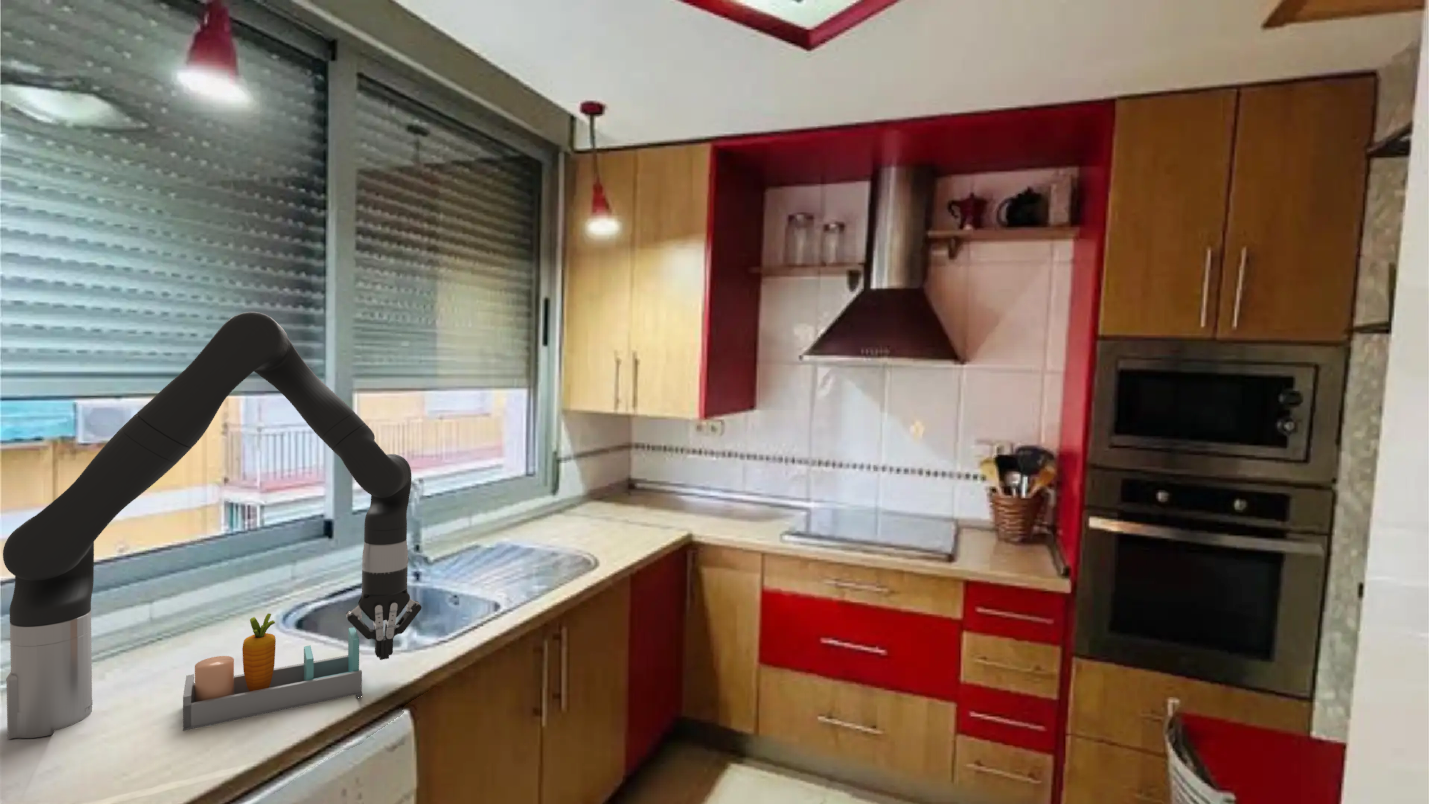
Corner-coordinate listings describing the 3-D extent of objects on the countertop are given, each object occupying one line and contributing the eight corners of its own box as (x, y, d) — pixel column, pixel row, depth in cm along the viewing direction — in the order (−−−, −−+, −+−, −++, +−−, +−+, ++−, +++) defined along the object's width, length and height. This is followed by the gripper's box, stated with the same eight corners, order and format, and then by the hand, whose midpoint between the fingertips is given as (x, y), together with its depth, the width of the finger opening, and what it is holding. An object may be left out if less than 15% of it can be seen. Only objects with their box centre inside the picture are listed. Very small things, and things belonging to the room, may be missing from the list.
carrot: (269, 691, 121) (269, 606, 120) (281, 700, 118) (282, 614, 117) (236, 702, 117) (236, 614, 116) (248, 712, 114) (248, 622, 113)
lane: (182, 735, 108) (182, 699, 108) (186, 707, 116) (186, 673, 116) (362, 697, 122) (362, 664, 122) (354, 675, 130) (354, 644, 130)
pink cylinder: (194, 721, 111) (193, 672, 110) (195, 707, 115) (195, 660, 115) (233, 713, 114) (233, 665, 113) (234, 699, 118) (234, 653, 118)
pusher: (306, 699, 119) (306, 648, 119) (303, 684, 124) (304, 635, 124) (358, 688, 124) (359, 639, 123) (354, 674, 129) (354, 627, 128)
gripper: (419, 555, 134) (417, 643, 135) (341, 564, 127) (340, 657, 128) (428, 565, 128) (426, 658, 129) (347, 575, 121) (345, 673, 122)
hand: (383, 657), depth 128 cm, fingers closed
